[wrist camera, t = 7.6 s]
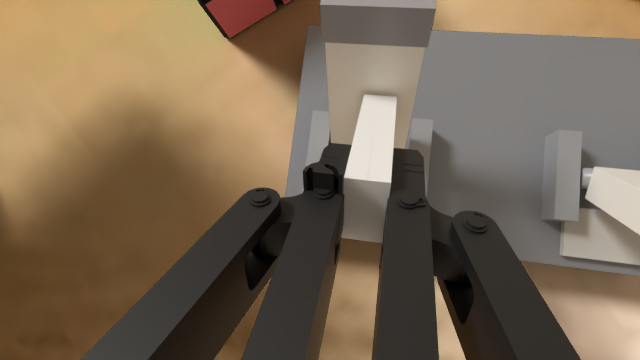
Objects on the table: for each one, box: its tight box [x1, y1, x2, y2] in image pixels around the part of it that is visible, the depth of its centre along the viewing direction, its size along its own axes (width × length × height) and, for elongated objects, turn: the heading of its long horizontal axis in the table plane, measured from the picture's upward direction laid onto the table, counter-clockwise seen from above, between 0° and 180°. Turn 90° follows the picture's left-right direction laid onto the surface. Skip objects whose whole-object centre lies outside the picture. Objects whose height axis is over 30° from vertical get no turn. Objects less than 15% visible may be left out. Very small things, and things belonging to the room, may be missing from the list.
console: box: [285, 25, 640, 276], centre depth 23 cm, size 23×14×5 cm, turn 82°
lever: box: [320, 0, 436, 149], centre depth 18 cm, size 4×2×11 cm, turn 83°
